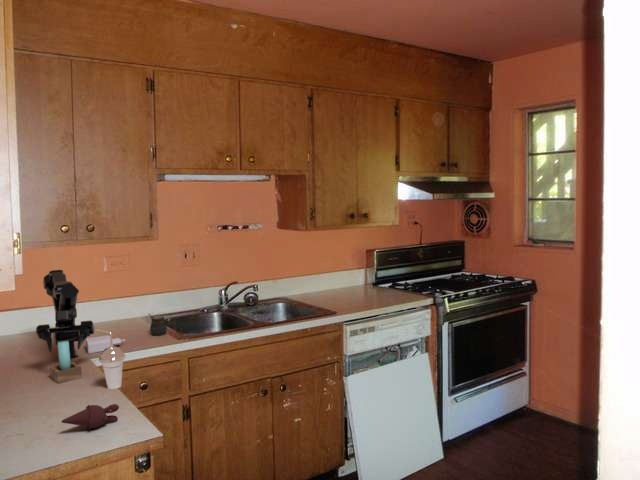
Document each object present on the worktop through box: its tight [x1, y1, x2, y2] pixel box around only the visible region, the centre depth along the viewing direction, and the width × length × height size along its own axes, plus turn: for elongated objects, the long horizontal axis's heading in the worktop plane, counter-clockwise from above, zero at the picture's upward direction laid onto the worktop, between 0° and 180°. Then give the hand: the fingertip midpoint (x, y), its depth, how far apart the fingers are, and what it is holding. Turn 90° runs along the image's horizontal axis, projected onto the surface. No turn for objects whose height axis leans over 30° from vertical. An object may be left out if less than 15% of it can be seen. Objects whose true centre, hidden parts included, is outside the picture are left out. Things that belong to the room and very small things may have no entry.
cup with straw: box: [95, 328, 126, 390], centre depth 187 cm, size 8×9×20 cm
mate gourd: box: [147, 312, 168, 337], centre depth 249 cm, size 7×8×10 cm
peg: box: [57, 341, 72, 371], centre depth 197 cm, size 4×4×13 cm
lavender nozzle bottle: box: [85, 334, 126, 355], centre depth 231 cm, size 5×9×15 cm
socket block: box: [49, 361, 83, 385], centre depth 197 cm, size 8×8×4 cm
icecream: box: [61, 403, 120, 432], centre depth 156 cm, size 7×7×15 cm
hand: (64, 350), depth 198 cm, fingers open, 9 cm apart
